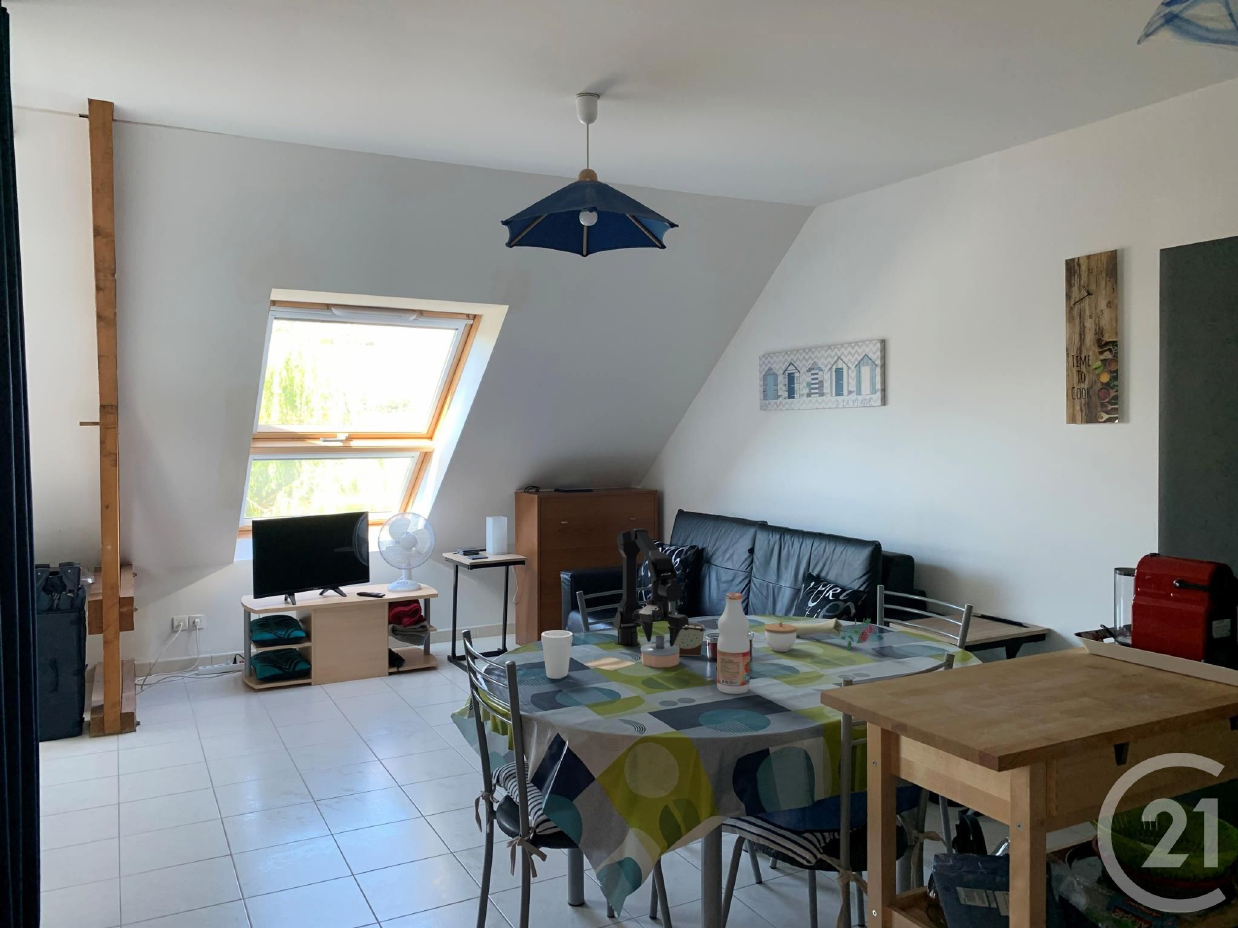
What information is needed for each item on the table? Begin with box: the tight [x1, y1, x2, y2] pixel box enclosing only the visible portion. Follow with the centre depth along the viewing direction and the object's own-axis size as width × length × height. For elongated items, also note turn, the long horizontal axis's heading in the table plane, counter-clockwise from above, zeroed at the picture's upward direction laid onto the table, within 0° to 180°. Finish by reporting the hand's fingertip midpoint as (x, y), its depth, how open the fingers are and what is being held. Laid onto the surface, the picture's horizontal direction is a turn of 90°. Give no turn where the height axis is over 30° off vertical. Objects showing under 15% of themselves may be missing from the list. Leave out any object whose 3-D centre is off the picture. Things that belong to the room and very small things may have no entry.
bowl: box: [641, 652, 680, 668], centre depth 297 cm, size 12×12×4 cm
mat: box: [583, 656, 637, 672], centre depth 296 cm, size 12×12×1 cm
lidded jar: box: [764, 621, 797, 653], centre depth 315 cm, size 11×11×9 cm
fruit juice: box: [716, 592, 751, 695], centre depth 268 cm, size 9×9×28 cm
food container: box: [668, 621, 707, 657], centre depth 310 cm, size 12×6×10 cm, turn 84°
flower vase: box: [791, 617, 875, 652], centre depth 321 cm, size 12×12×35 cm
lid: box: [640, 634, 679, 656], centre depth 297 cm, size 12×12×5 cm
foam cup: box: [540, 629, 574, 680], centre depth 283 cm, size 10×9×13 cm
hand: (660, 643), depth 297 cm, fingers open, 9 cm apart
